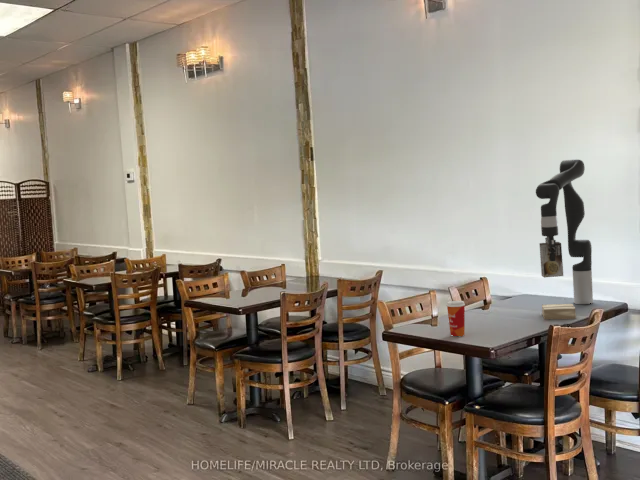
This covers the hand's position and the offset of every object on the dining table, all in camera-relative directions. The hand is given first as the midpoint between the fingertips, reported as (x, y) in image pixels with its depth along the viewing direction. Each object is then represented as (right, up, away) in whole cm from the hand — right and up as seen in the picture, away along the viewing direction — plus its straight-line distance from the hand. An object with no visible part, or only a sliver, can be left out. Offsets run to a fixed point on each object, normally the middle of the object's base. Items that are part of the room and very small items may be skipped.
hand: (551, 260), depth 318 cm
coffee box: (+1, -8, +1) cm, 8 cm away
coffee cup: (-50, -33, -24) cm, 64 cm away
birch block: (+4, -27, +1) cm, 28 cm away
